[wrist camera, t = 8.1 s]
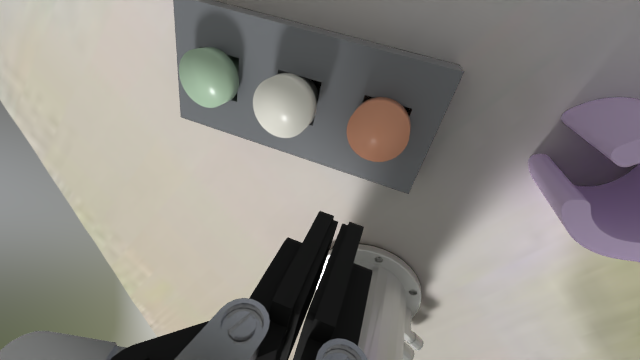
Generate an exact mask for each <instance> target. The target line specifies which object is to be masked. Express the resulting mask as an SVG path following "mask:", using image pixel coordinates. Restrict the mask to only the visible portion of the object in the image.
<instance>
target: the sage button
mask: <svg viewBox="0 0 640 360" xmlns="http://www.w3.org/2000/svg"><path fill="white" fill-rule="evenodd" d="M238 69H239V58H237V57H233V56H230V55H226V54H225V53H224V52H223V51H221V50H219V49H217V48H214V47H204V48H197V49H192V50H189V51H187V52H186V53H185V54H184V55H183V57H182V58H181V61H180V64H179V76H180V81H181V84H182V86H183V88H184V90H185V91H186V93H187V94H188V96H189V97H190V98H191V99H192V100H193V101H194V102H196V103H197V104H199V105H201V106H203V107H207V108H214V107H217V106H220V105H222V104H224V103H226V102H229V101H230V100H232V99H233V98H234V97H235V95H236V93H237V91H238V87H239V77H238Z"/></svg>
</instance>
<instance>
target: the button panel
mask: <svg viewBox="0 0 640 360" xmlns="http://www.w3.org/2000/svg"><path fill="white" fill-rule="evenodd" d="M173 2H174V18H175V33H176V49H177V65H178V80H179V96H180V112H181V117H182V118H185V119H188V120H191V121H194V122H197V123H200V124H203V125H206V126H209V127H211V128H214V129H217V130H220V131H223V132H226V133H229V134H232V135H235V136H238V137H241V138H244V139H247V140H250V141H253V142H256V143H259V144H262V145H265V146H268V147H271V148H274V149H277V150H280V151H283V152H286V153H289V154H292V155H295V156H298V157H300V158H303V159H306V160H309V161H312V162H315V163H318V164H321V165H324V166H327V167H330V168H333V169H336V170H339V171H342V172H345V173H348V174H351V175H354V176H357V177H360V178H363V179H366V180H369V181H372V182H375V183H378V184H381V185H384V186H386V187H389V188H392V189H395V190H398V191H401V192H404V193H407V194H409V192H410V189H411V187H412V185H413V183H414V181H415V178H416V176H417V174H418V172H419V170H420V167H421V165H422V163H423V161H424V159H425V156H426V154H427V152H428V150H429V148H430V145H431V143H432V141H433V139H434V137H435V134H436V132H437V130H438V128H439V126H440V123H441V121H442V119H443V117H444V115H445V112H446V110H447V108H448V106H449V104H450V101H451V99H452V97H453V95H454V93H455V90H456V88H457V86H458V84H459V82H460V79H461V77H462V75H463V73H464V71H463V70H462V68H461V67H460V65H457V64H453V63H450V62H446V61H442V60H438V59H434V58H431V57H427V56H423V55H419V54H415V53H412V52H408V51H404V50H400V49H396V48H393V47H389V46H385V45H381V44H377V43H374V42H370V41H366V40H362V39H358V38H355V37H351V36H347V35H343V34H339V33H336V32H332V31H328V30H324V29H320V28H317V27H313V26H309V25H305V24H301V23H298V22H294V21H290V20H286V19H282V18H279V17H275V16H271V15H267V14H263V13H260V12H256V11H252V10H248V9H244V8H241V7H237V6H233V5H229V4H225V3H222V2H218V1H214V0H173ZM204 47H214V48H217V49H219V50H221V51H223V52H224V53H225V54H226V55H230V56H233V57H237V58H239V69H238V77H239V87H238V91H237V93H236V95H235V97H234V98H233V99H232V100H230V101H229V102H226V103H224V104H222V105H220V106H217V107H214V108H207V107H203V106H201V105H199V104H197V103H196V102H194V101H193V100H192V99H191V98H190V97H189V96H188V94H187V93H186V91H185V90H184V88H183V86H182V84H181V81H180V76H179V64H180V61H181V58H182V57H183V55H184V54H185V53H186V52H187V51H189V50H192V49H197V48H204ZM281 73H291V74H295V75H298V76H302V77H305V78H308V79H312V80H315V81H319V82H322V83H321V88H320V93H319V98H318V103H317V108H316V114H315V117H314V119H313V121H312V122H311V123H310V125H309V126H307V127H306V128H305V129H304V130H303V131H302V132H301V133H300V134H298V135H297V136H295V137H291V138H280V137H277V136H274V135H272V134H270V133H269V132H267V131H266V130H265V129H264V128H263V127H262V126H261V124H260V123H259V122H258V120H257V118H256V116H255V113H254V109H253V97H254V93H255V91H256V89H257V87H258V86H259V84H260V83H261V82H263V81H264V80H266V79H268V78H270V77H273V76H275V75H277V74H281ZM368 96H370V97H374V98H376V97H386V98H390V99H393V100H395V101H397V102H398V103H400V104H401V105H402V106H404V107H408V108H410V110H409V113H408V115H409V118H410V124H411V127H410V136H409V141H408V144H407V146H406V147H405V149H404V150H403V151H402V153H401V154H399V155H398V156H397V157H395V158H393V159H391V160H388V161H384V162H373V161H369V160H366V159H364V158H362V157H360V156H359V155H358V154H356V153H355V152H354V150H353V149H352V148H351V146H350V144H349V142H348V139H347V125H348V122H349V119H350V117H351V116H352V115H353V113H354V112H355V110H356V109H357V108H358V107H359V105H361V104H362V103H363V102H365V101H366V100H367V98H368Z"/></svg>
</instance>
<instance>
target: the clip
mask: <svg viewBox="0 0 640 360" xmlns="http://www.w3.org/2000/svg"><path fill="white" fill-rule="evenodd" d="M561 120H562V122H563V123H564V124H565V125H567V126H568V127H569V128H570V129H572V130H573V131H574V132H576V133H577V134H578V135H579V136H581V137H582V138H583V139H584V140H586V141H587V142H588V143H590V144H591V145H592V146H593V147H595V148H596V149H597V150H598V151H600V152H601V153H602V154H603V155H605V156H606V157H607V158H609V159H610V160H611V161H612V162H614V163H615V164H616V165H618V166H620V167H630V166H633V165H635V164H637V165H636V166H635V167H634V168H633V169H632V170H631V171H630V172H629V173H627V174H626V175H624V176H623V177H621V178H619V179H617V180H615V181H612V182H609V183H606V184H603V185H598V186H576V185H573V184H572V183H571V181H570V180H569V179H568V178H567V177H566V176H565V175H564V173H563V172H562V171H561V170H560V169H559V168H558V166H557V165H556V164H555V163H554V162H553V161H552V160H551V158H550V157H549V156H548V155H546V154H534V155H532V156H531V157H530V158H529V160H528V165H529V170H530V174H531V176H532V178H533V180H534V181H535V183H536V184H537V186H538V187H539V189H540V190H541V192H542V193H543V195H544V196H545V198H546V199H547V201H548V202H549V204H550V206H551V207H552V209H553V210H554V212H555V213H556V215H557V216H558V218H559V219H560V221H561V222H562V224H563V225H564V227H565V228H566V230H567V231H568V233H569V234H570V235H571V237H572V238H573V239H574V240H575V241H576V242H578V243H579V244H580V245H582V246H583V247H585V248H587V249H589V250H590V251H593V252H595V253H598V254H600V255H603V256H607V257H611V258H616V259H622V260H630V261H637V262H640V100H638V99H634V98H626V97H611V98H603V99H597V100H593V101H589V102H586V103H583V104H580V105H578V106H575V107H573V108H571V109H569V110H567V111H565V112H564V113H563V115H562V117H561Z"/></svg>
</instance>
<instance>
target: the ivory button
mask: <svg viewBox="0 0 640 360" xmlns="http://www.w3.org/2000/svg"><path fill="white" fill-rule="evenodd" d="M317 101H318V90H317V87H316V86H315V84H314V83H313V82H312V81H311V80H310V79H308V78H305V77H299V76H297V75H294V74H291V73H281V74H277V75H275V76H273V77H270V78H268V79H266V80H264V81H263V82H261V83H260V84H259V86H258V87H257V89H256V91H255V93H254V97H253V109H254V113H255V116H256V118H257V120H258V122H259V123H260V124H261V126H262V127H263V128H264V129H265V130H266V131H267V132H269V133H270V134H272V135H274V136H277V137H280V138H291V137H295V136H297V135H298V134H300V133H301V132H302V131H303V130H304V129H305V128H306V127H307V126H309V125H310V123H311V122H312V121H313V119H314V117H315V114H316V105H317V104H316V103H317Z"/></svg>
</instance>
